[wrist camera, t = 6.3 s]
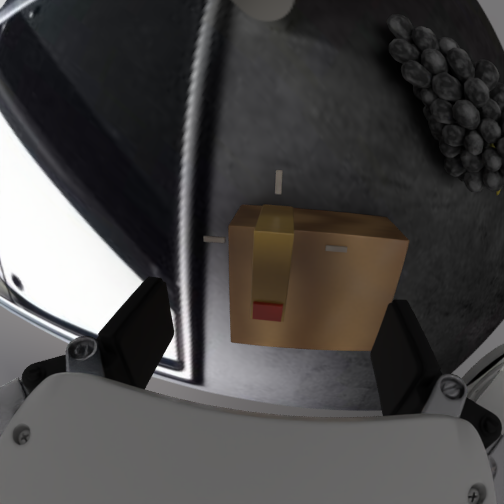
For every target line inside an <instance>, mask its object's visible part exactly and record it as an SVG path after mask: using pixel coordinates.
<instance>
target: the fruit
mask: <svg viewBox="0 0 504 504" xmlns="http://www.w3.org/2000/svg"><path fill="white" fill-rule="evenodd" d="M387 24H388V27H389V30H390V31H391V32H392V33H393V34H394V36H395V37H396V38H397V39H393V41H392V42H391V43H390V44H389V53H390V54H391V56H392V57H393V58H394V59H395V60H396V61H398V62H400V63H402V64H403V65H402V67H401V72H402V76H403V78H404V79H405V80H406V81H408V82H410V83H411V84H412V85H413V94H414V95H415V96H416V97H417V98H418V99H419V100H422V102H423V104H424V105H425V107H424V108H423V112H424V115H425V117H426V119H427V120H428V124H429V128H430V130H431V134H432V136H433V137H434V139H435V140H439V148H440V151H441V152H442V154H443V155H444V156H446V158H445V159H444V166H445V170H446V171H447V172H448V173H449V174H450V175H452V176H454V177H458V178H459V179H460V180H462V181H464V183H465V185H466V187H467V188H468V189H469V190H470V191H472V192H480V191H482V190H483V188H484V186H486V187H487V188H488V189H489V190H491V191H494V192H496V195H498V194H499V192H500V189H501V188H502V187H503V185H504V84H502V83H498V80H499V73H498V71H497V68H496V67H495V66H494V65H493V64H492V63H491V62H489V61H488V60H483V59H481V60H479V61H477V62H476V63H475V62H473V61H472V60H470V58H469V55H468V54H467V53H466V52H465V51H464V50H462V49H460V48H459V46H458V44H457V43H456V42H455V41H454V40H452V39H451V38H447V37H442V38H440V39H438V41H437V38H436V36H435V34H434V33H433V32H432V31H431V30H430V29H428V28H425V27H422V26H420V27H417V28H415V29H414V27H413V26H412V24H411V22H410V21H409V19H408V18H407V17H405V16H403V15H400V14H393V15H391V16H390V17H389V18H388V20H387ZM413 43H415V45H414V44H413ZM501 130H502V135H501Z"/></svg>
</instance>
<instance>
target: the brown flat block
mask: <svg viewBox="0 0 504 504" xmlns="http://www.w3.org/2000/svg"><path fill="white" fill-rule="evenodd" d="M281 190H282V171H281V170H276V185H275V194H281ZM262 207H263V206H258V205H241V206H240V208H239V210H238V211H237V213H236V214H235V216H234V218H233V219H232V221H231V222H230V224H229V226H228V233H229V295H230V331H231V342H233V343H241V344H250V345H260V346H271V347H282V348H296V349H314V350H341V351H371V350H372V347H373V345H374V342H375V339H376V337H377V334H378V332H379V329H380V326H381V323H382V321H383V318H384V315H385V312H386V309H387V306H388V304H389V303H392V300H393V297H394V294H395V291H396V287H397V284H398V281H399V278H400V274H401V271H402V267H403V264H404V260H405V256H406V252H407V249H408V244H409V240H408V239H407V238H406V237H405V236H404V235H403V233H402V232H401V231H400V230H399V229H398V228H397V227H396V226H395V225H394V224H393V223H392V222H391V221H390V220H389V219H388V218H387V217H380V216H372V215H363V214H354V213H344V212H334V211H324V210H312V209H300V208H293V215H294V242H293V251H292V260H291V269H290V277H289V285H288V293H287V301H286V308H285V316H284V321H283V322H276V321H266V320H257V319H251V318H250V307H251V285H252V262H253V239H254V229H255V227H256V224H257V221H258V218H259V215H260V212H261V209H262ZM204 242H216V243H225V237H215V236H204Z"/></svg>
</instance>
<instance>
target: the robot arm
mask: <svg viewBox="0 0 504 504" xmlns="http://www.w3.org/2000/svg"><path fill="white" fill-rule="evenodd" d="M98 335H99V336H98V338H97V339H95V338H93V337H91V336H81V337H78V338H75V339H74V340H72V341H71V342H70V343H69V344H68V346H67V348H66V355H62V356H59V357H55V358H52V359H48V360H45V361H41V362H37V363H34V364H31V365H30V366H28V367H27V368H26V369H25V370H24V372H23V374H22V379H21V380H20V379H19V378H16V379H14V380H13V381H11V382H9V383H7V384H5V385H4V386H2V387H0V504H504V362H503V363H501V364H499V365H498V366H496V367H495V368H493V369H492V370H491V371H490V372H488V373H487V374H486V375H485V376H484V377H483V378H482V379H481V380H479V382H478V383H477V384H476V385H475V386H474V387H473V389H472V390H471V391H470V393H469V395H468V398H467V392H468V390H467V386H466V384H465V382H464V381H463V380H462V379H461V378H460V377H458V376H457V375H454V374H443V375H442V374H441V371H440V367H439V365H438V362H437V360H436V358H435V355H434V353H433V351H432V349H431V347H430V345H429V343H428V340H427V338H426V336H425V334H424V332H423V330H422V328H421V326H420V324H419V322H418V320H417V318H416V316H415V314H414V312H413V311H412V309H411V307H410V305H409V303H408V301H407V300H393V301H392V303H389V304H388V306H387V309H386V312H385V315H384V318H383V321H382V323H381V326H380V329H379V332H378V334H377V337H376V339H375V342H374V345H373V347H372V350H371V361H372V365H373V369H374V374H375V378H376V383H377V388H378V392H379V397H380V402H381V408H382V413H383V416H378V417H377V416H376V417H349V418H348V417H347V418H346V417H344V418H342V417H341V418H340V417H339V418H338V417H336V418H335V417H334V418H333V417H330V418H329V417H303V416H287V415H275V414H265V413H256V412H249V411H242V410H234V409H229V408H223V407H217V406H211V405H206V404H201V403H196V402H191V401H187V400H183V399H178V398H174V397H170V396H166V395H163V394H159V393H155V392H152V391H148V390H145V388H146V386H147V384H148V382H149V380H150V378H151V377H152V375H153V373H154V371H155V369H156V367H157V365H158V364H159V362H160V360H161V358H162V356H163V355H164V353H165V351H166V349H167V347H168V345H169V344H170V342H171V340H172V338H173V336H174V327H173V322H172V316H171V311H170V305H169V299H168V292H167V286H166V283H165V282H163V280H162V279H161V278H156V277H148V278H147V279H146V280H145V281H144V282H143V283H142V284H141V285H140V286H139V287H138V288H137V290H136V291H135V292H134V293H133V294H132V295H131V296H130V297H129V299H128V300H127V301H126V302H125V303H124V304H123V305H122V306H121V308H120V309H119V310H118V311H117V312H116V313H115V315H114V316H113V317H112V318H111V319H110V320H109V322H108V323H107V324H106V325H105V326H104V327H103V329H102V330H101V331H100V332H99V333H98Z"/></svg>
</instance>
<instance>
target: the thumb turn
mask: <svg viewBox="0 0 504 504" xmlns="http://www.w3.org/2000/svg"><path fill="white" fill-rule="evenodd" d="M293 242H294V215H293V207H290V206H278V205H266V204H264V205H263V207H262V209H261V212H260V215H259V218H258V221H257V224H256V227H255V229H254V239H253V262H252V285H251V307H250V318H251V319H257V320H266V321H276V322H283V321H284V316H285V308H286V301H287V293H288V285H289V277H290V269H291V260H292V251H293Z"/></svg>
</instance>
